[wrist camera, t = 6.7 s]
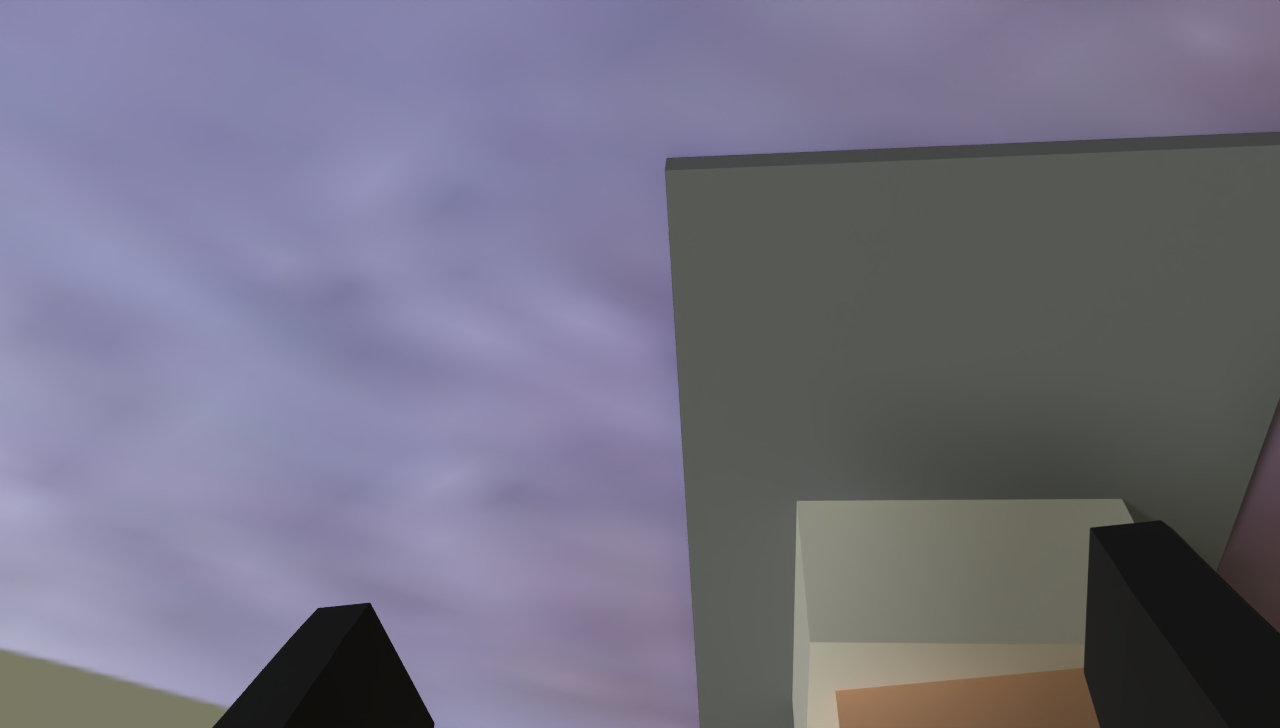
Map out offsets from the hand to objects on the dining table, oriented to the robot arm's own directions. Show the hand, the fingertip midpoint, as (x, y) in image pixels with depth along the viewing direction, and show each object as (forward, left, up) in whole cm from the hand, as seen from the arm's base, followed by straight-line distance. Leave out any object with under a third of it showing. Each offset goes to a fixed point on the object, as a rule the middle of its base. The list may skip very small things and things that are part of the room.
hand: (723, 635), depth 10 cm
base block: (-5, +10, -10) cm, 15 cm away
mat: (-5, +8, -10) cm, 14 cm away
